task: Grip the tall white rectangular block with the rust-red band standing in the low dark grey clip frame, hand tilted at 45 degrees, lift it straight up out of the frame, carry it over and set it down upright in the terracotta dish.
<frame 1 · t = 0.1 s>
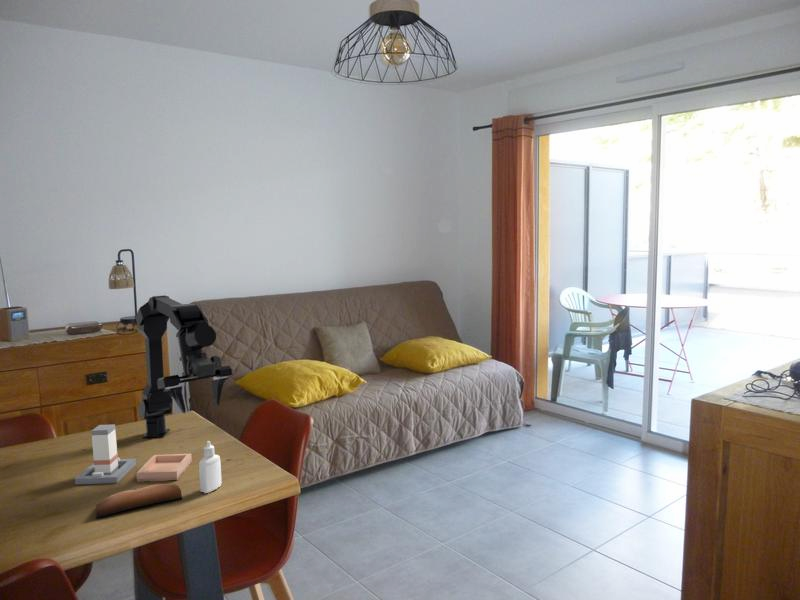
hand: (201, 409, 155), 15 cm above the table, tool pointing down, fingers open, 9 cm apart
white rectangular block: (107, 473, 152), resting in clip frame
eye dropper bottle: (211, 490, 142), on the table
clip frame: (107, 473, 152), on the table
sunglasses case: (138, 505, 136), on the table
dish: (165, 471, 153), on the table
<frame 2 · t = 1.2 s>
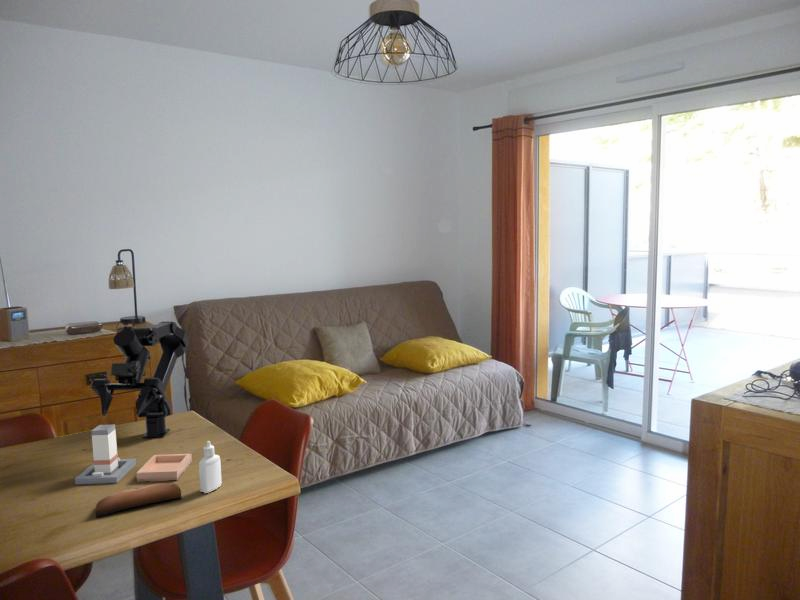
hand: (120, 414, 159), 13 cm above the table, tool tilted 45°, fingers open, 9 cm apart
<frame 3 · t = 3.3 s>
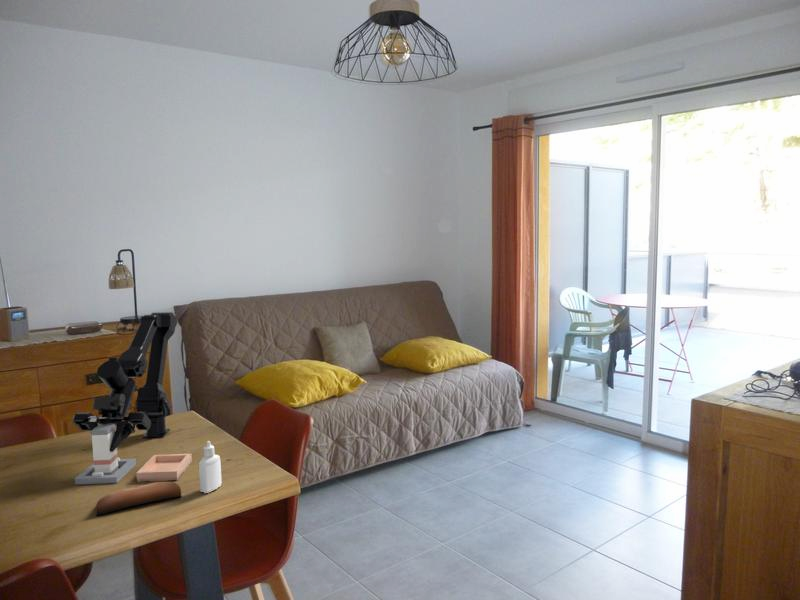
hand: (102, 451, 150), 7 cm above the table, tool tilted 45°, fingers closed on white rectangular block, 4 cm apart
white rectangular block: (107, 473, 152), resting in clip frame, touching gripper
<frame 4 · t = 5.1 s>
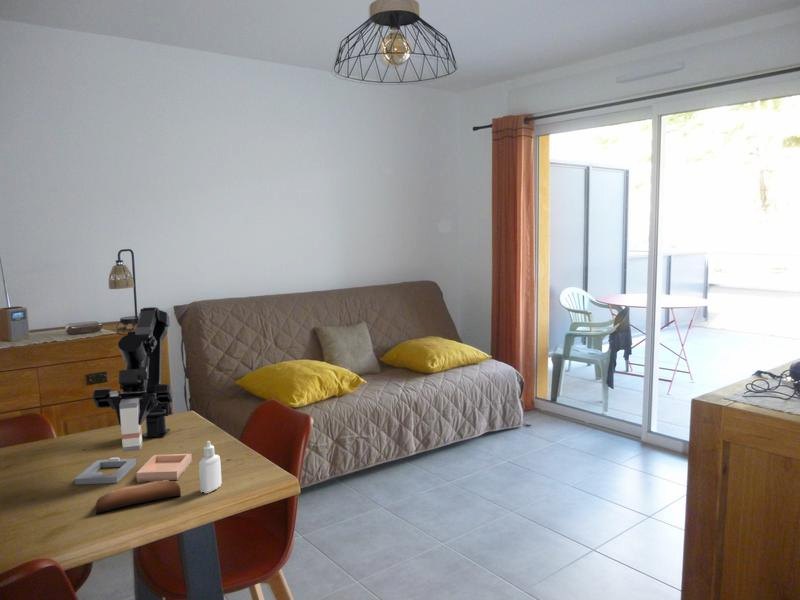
hand: (130, 425, 149), 14 cm above the table, tool tilted 45°, fingers closed on white rectangular block, 4 cm apart
white rectangular block: (132, 448, 151), point 7 cm above the table, touching gripper
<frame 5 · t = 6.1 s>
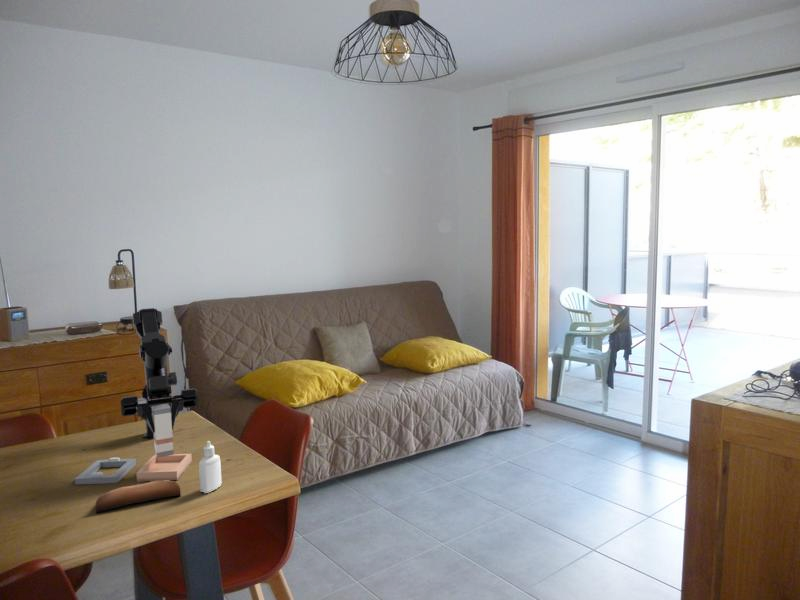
hand: (163, 430, 151), 12 cm above the table, tool tilted 45°, fingers closed on white rectangular block, 4 cm apart
white rectangular block: (164, 453, 153), point 5 cm above the table, touching gripper
when the fingers open (8 cm above the table, at t = 6.9 s): white rectangular block drops 1 cm, resting on dish.
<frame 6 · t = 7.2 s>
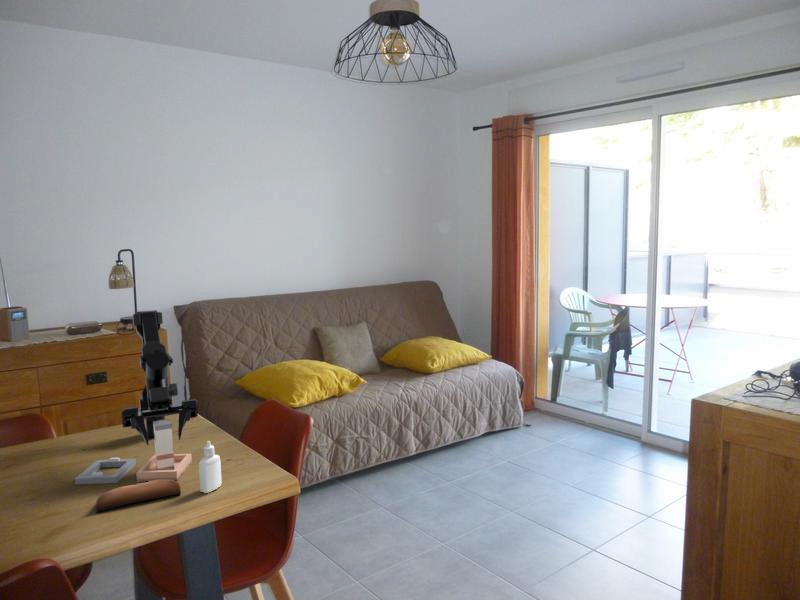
hand: (163, 441, 151), 9 cm above the table, tool tilted 45°, fingers open, 7 cm apart
white rectangular block: (165, 468, 153), point 1 cm above the table, touching dish
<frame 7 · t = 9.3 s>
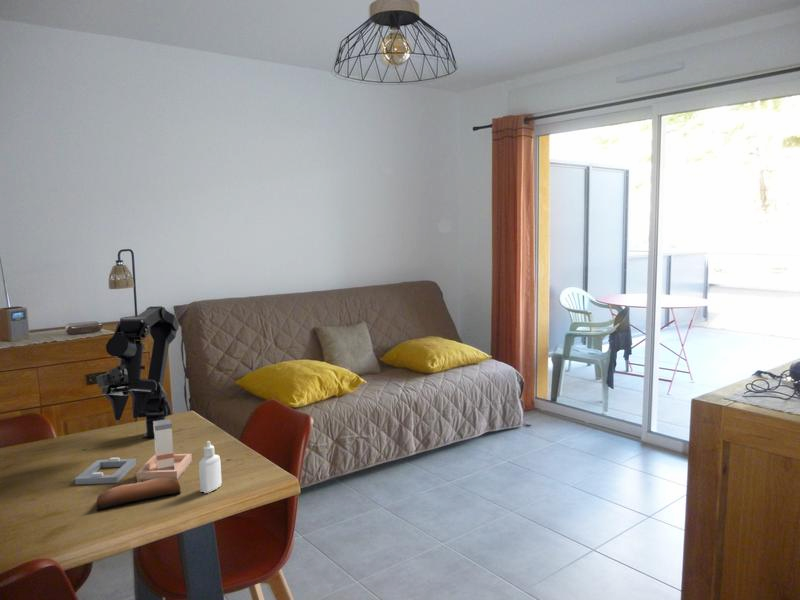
hand: (126, 419, 160), 12 cm above the table, tool tilted 20°, fingers open, 9 cm apart
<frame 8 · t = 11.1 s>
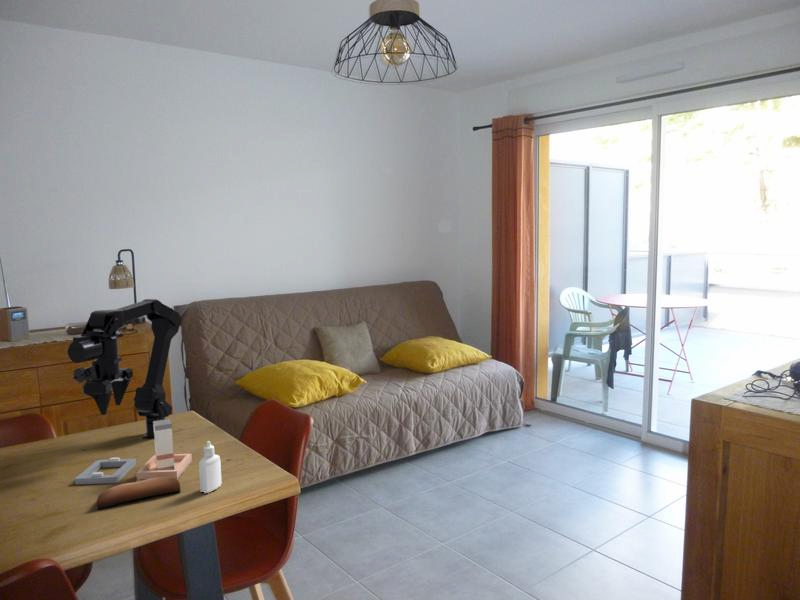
hand: (111, 409, 165), 13 cm above the table, tool pointing down, fingers open, 9 cm apart
at the end: white rectangular block inside the target area on the dish (0.0 cm from its centre), point 0.8 cm above the dish's base; white rectangular block tilted 0°; the gripper is holding nothing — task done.
